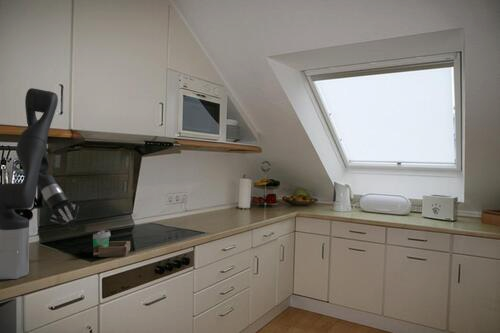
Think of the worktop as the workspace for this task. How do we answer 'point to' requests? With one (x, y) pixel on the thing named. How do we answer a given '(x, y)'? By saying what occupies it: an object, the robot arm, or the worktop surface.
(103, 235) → the food container
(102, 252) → the walnut tray
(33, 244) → the worktop surface
